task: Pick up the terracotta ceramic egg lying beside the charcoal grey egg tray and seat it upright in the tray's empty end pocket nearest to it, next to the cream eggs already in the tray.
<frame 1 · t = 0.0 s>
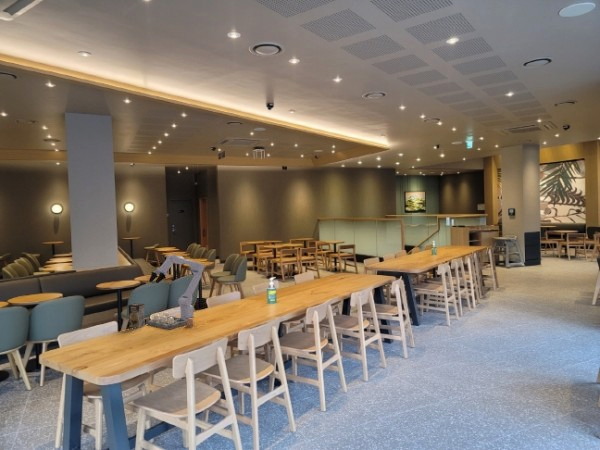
hand: (153, 282, 297), 32 cm above the table, tool tilted 50°, fingers open, 7 cm apart
terracotta egg: (190, 326, 297), on the table
coffee box: (137, 326, 300), on the table
egg tray: (168, 323, 305), on the table
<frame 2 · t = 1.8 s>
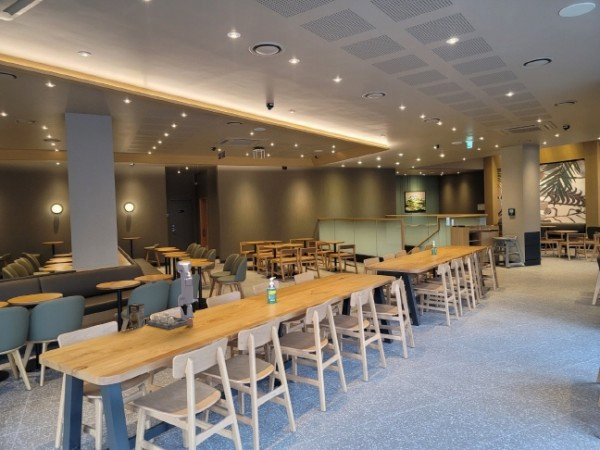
hand: (189, 313, 297), 9 cm above the table, tool pointing down, fingers open, 7 cm apart
nothing on the table moved.
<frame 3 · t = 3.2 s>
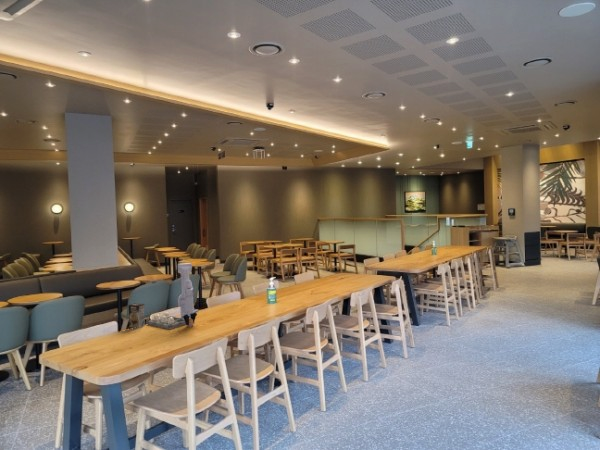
hand: (190, 324, 297), 1 cm above the table, tool pointing down, fingers closed on terracotta egg, 4 cm apart
terracotta egg: (190, 326, 297), on the table, touching gripper
everything else where it was.
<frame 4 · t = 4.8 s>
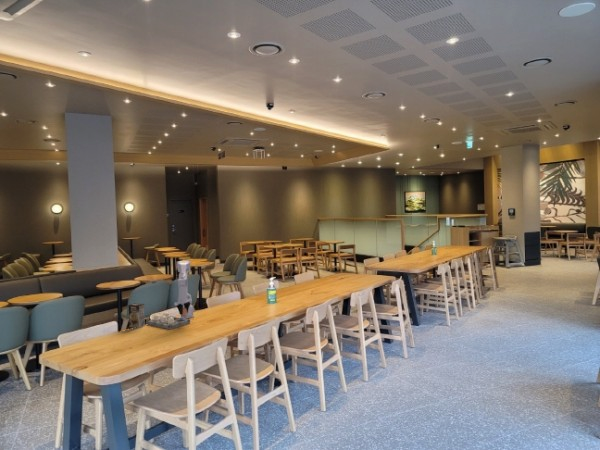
hand: (183, 313, 301), 8 cm above the table, tool pointing down, fingers closed on terracotta egg, 4 cm apart
terracotta egg: (183, 315, 301), point 7 cm above the table, touching gripper
everything else where it was.
when the fingers open (3 cm above the table, at t = 6.5 s): terracotta egg stays where it is, resting on egg tray.
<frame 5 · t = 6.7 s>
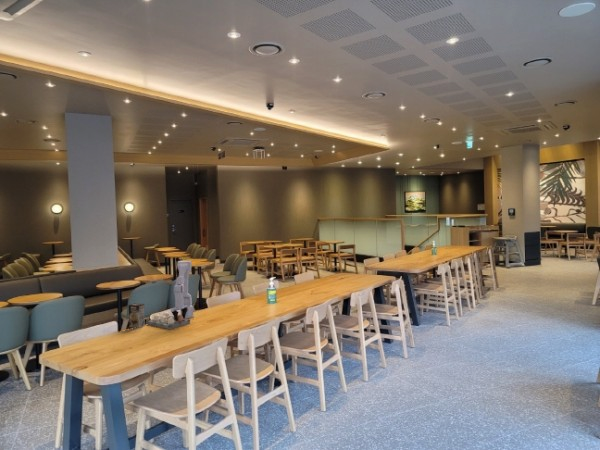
hand: (179, 319, 303), 3 cm above the table, tool pointing down, fingers open, 6 cm apart
terracotta egg: (180, 322, 303), point 1 cm above the table, touching egg tray
everything else where it was.
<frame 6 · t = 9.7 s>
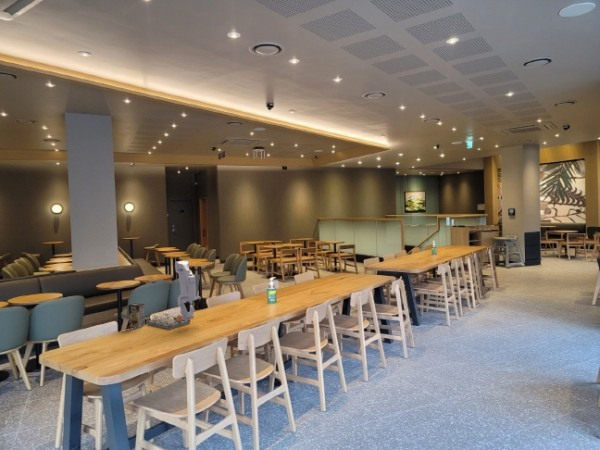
hand: (192, 310, 304), 9 cm above the table, tool pointing down, fingers open, 7 cm apart
nothing on the table moved.
at the end: terracotta egg 0.0 cm from the target spot on the egg tray, point 1.0 cm above the egg tray's base; terracotta egg tilted 0°; the gripper is holding nothing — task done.
